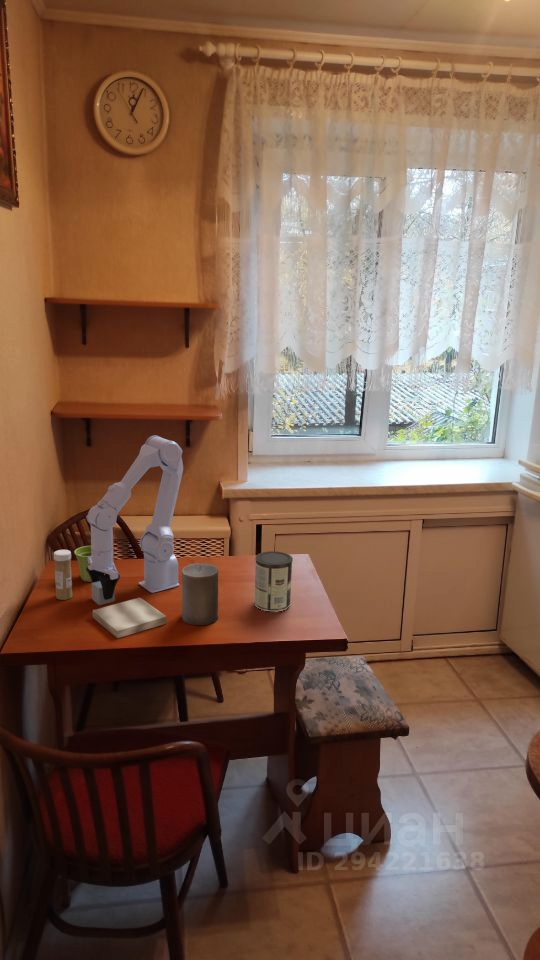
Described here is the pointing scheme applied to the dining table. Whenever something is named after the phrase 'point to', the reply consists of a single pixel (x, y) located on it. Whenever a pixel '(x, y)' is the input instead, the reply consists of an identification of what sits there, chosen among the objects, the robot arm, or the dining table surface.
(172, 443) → the robot arm
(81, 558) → the plant pot
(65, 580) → the sprinkles bottle
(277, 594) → the coffee can
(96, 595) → the grey block
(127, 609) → the birch base
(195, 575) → the pillar candle
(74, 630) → the dining table surface
